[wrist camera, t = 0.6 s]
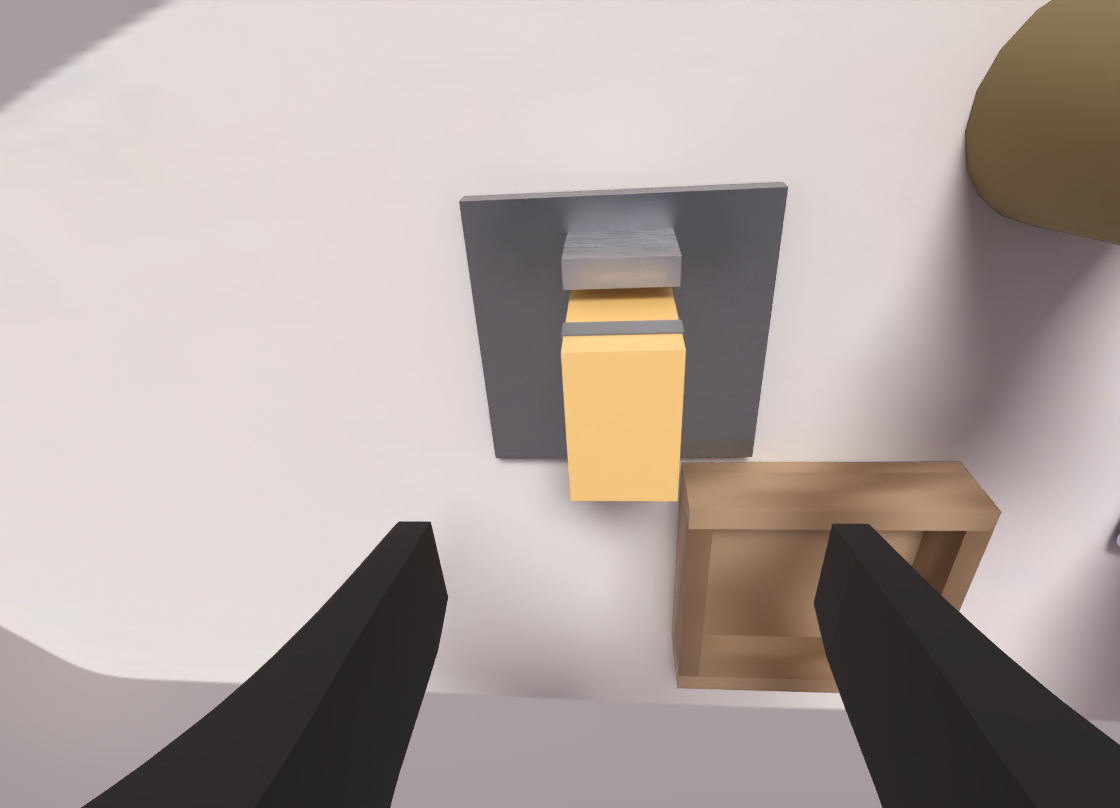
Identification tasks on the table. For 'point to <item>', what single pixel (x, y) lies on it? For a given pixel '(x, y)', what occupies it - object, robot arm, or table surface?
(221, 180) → the table surface
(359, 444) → the table surface
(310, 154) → the table surface
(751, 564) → the tray
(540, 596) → the table surface
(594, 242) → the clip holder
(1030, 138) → the cork
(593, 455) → the block
